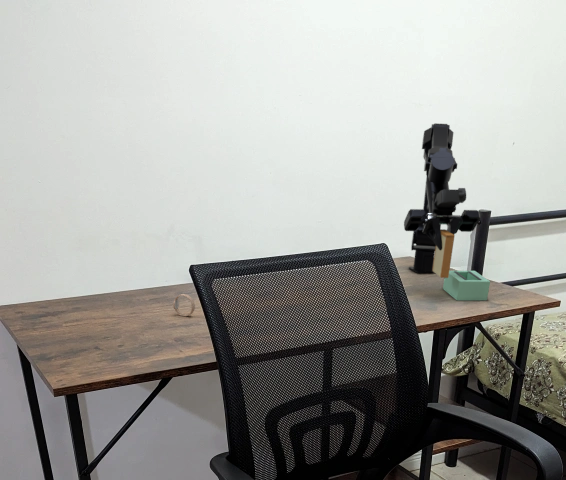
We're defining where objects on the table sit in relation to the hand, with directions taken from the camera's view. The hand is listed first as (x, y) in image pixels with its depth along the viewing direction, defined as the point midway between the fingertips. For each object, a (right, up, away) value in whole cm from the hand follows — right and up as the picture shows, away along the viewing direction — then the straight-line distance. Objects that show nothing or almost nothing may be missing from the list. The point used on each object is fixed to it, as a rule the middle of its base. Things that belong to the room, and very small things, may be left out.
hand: (445, 249), depth 184 cm
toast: (0, -5, +5) cm, 7 cm away
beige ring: (-65, -21, -13) cm, 69 cm away
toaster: (+8, -8, +12) cm, 17 cm away
